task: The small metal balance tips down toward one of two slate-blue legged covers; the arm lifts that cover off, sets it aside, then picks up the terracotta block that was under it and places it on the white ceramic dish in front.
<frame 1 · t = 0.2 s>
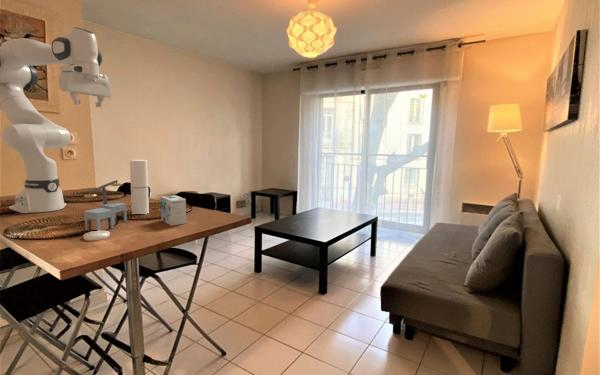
hand: (88, 106, 129), 47 cm above the table, tool pointing down, fingers open, 8 cm apart
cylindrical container: (140, 213, 147), on the table
light bulb box: (173, 222, 135), on the table
cover high: (114, 221, 131), on the table
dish: (97, 237, 112), on the table
cover low: (99, 229, 120), on the table
balance: (105, 218, 135), on the table
block: (99, 229, 121), on the table
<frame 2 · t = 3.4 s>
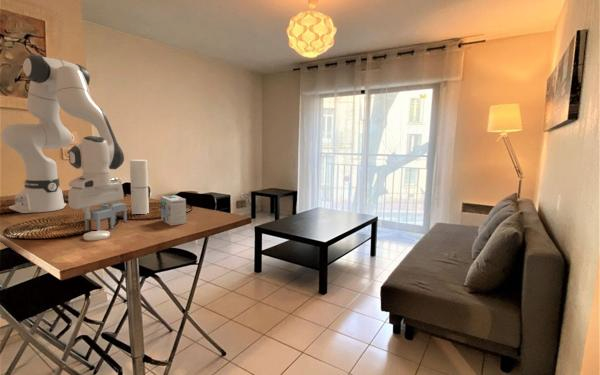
hand: (99, 215, 120), 5 cm above the table, tool pointing down, fingers closed on cover low, 6 cm apart
cover low: (99, 229, 120), on the table, touching gripper
everything else where it was.
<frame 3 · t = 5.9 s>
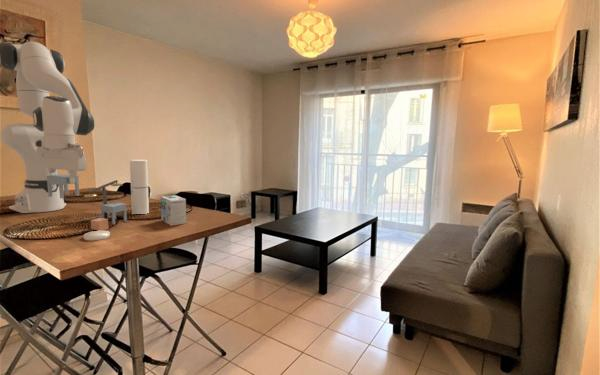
hand: (63, 181, 113), 19 cm above the table, tool pointing down, fingers closed on cover low, 6 cm apart
cover low: (64, 196, 114), point 13 cm above the table, touching gripper
everything else where it was.
when the fingers open (6 cm above the table, at t = 8.4 s): cover low stays where it is, on the table.
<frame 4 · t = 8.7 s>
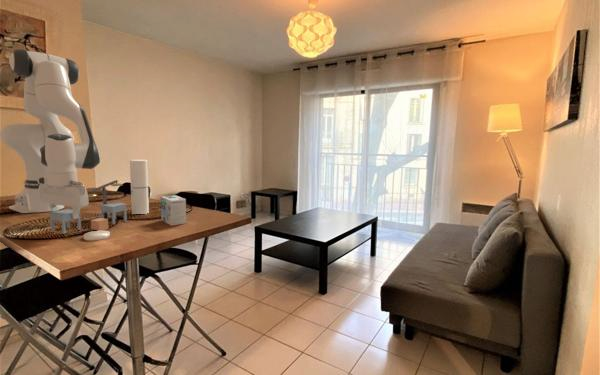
hand: (65, 216, 115), 6 cm above the table, tool pointing down, fingers open, 8 cm apart
cover low: (66, 231, 116), on the table
everything else where it was.
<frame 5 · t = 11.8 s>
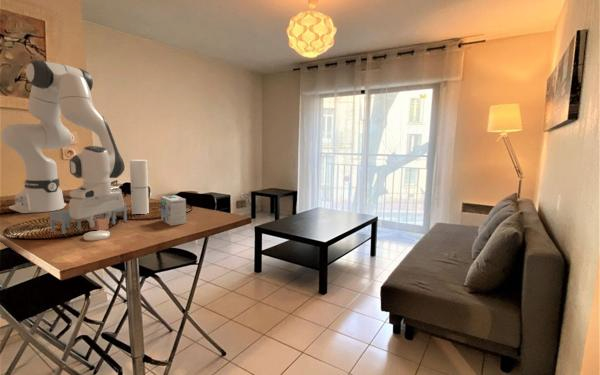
hand: (99, 225, 120), 2 cm above the table, tool pointing down, fingers closed on block, 4 cm apart
block: (100, 229, 120), on the table, touching gripper
everything else where it was.
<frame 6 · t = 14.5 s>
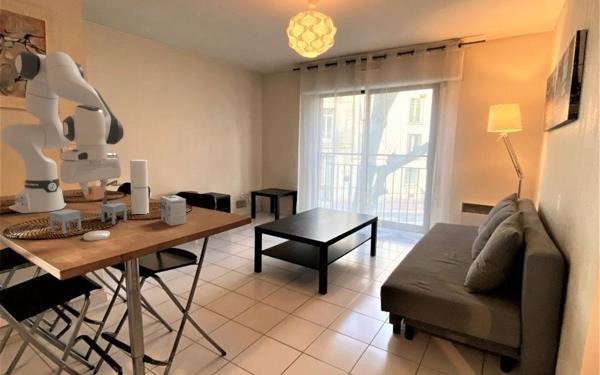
hand: (94, 193, 109), 16 cm above the table, tool pointing down, fingers closed on block, 4 cm apart
block: (95, 198, 110), point 14 cm above the table, touching gripper
everything else where it was.
when the fingers open (4 cm above the table, at t = 16.9 s): block drops 1 cm, resting on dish.
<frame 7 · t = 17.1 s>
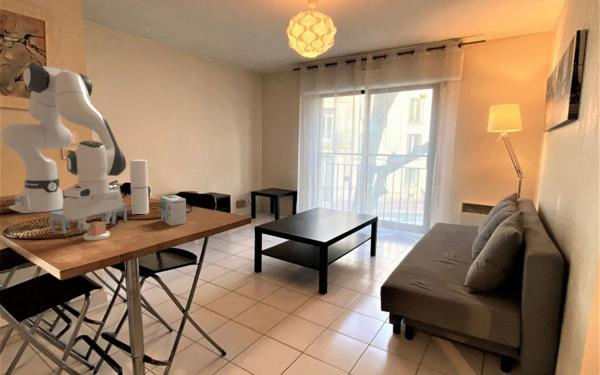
hand: (96, 226, 111), 4 cm above the table, tool pointing down, fingers open, 6 cm apart
block: (96, 233, 112), point 1 cm above the table, touching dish
everything else where it was.
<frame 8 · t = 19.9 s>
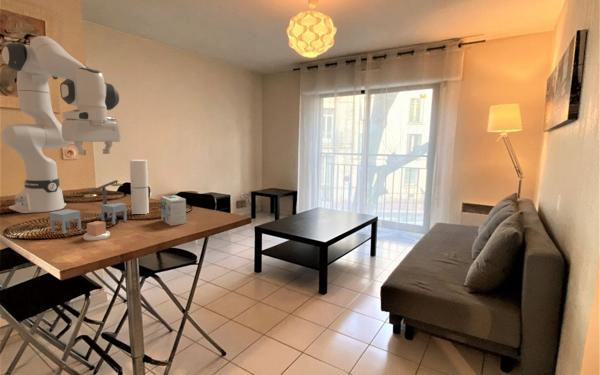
hand: (94, 154, 113), 29 cm above the table, tool pointing down, fingers open, 8 cm apart
nothing on the table moved.
at the end: block 0.0 cm from the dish (horizontally); block point 1.2 cm above the table; cover low moved 10.7 cm from its start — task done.
